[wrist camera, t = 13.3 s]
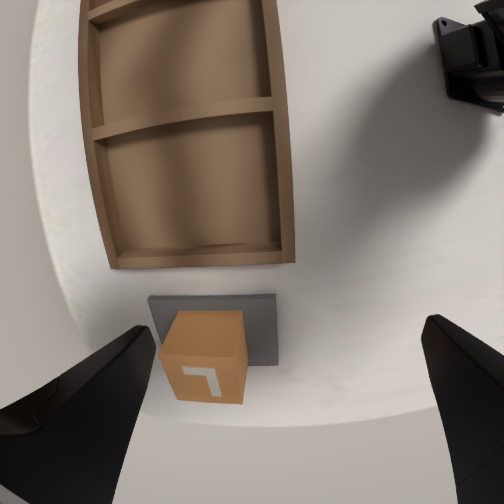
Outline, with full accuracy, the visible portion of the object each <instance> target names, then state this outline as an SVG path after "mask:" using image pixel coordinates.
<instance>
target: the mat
mask: <svg viewBox="0 0 504 504" xmlns="http://www.w3.org/2000/svg"><path fill="white" fill-rule="evenodd" d="M148 303H149V307H150V310H151V313H152V316H153V319H154V322H155V326H156V329H157V332H158V335H159V337H160V340H161V343H162V345H163V343H164V341H165V339H166V336H167V334H168V332H169V330H170V328H171V326H172V324H173V322H174V320H175V318H176V315H177V313H178V311H235V310H242V313H243V321H244V329H245V336H246V344H247V351H248V365H247V366H273V365H278V340H277V317H276V296H275V294H263V295H222V296H150V297H149V298H148Z"/></svg>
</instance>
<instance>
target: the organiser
mask: <svg viewBox="0 0 504 504" xmlns="http://www.w3.org/2000/svg"><path fill="white" fill-rule="evenodd" d="M78 77H79V97H80V111H81V122H82V131H83V139H84V147H85V154H86V161H87V167H88V173H89V179H90V184H91V190H92V195H93V200H94V204H95V209H96V214H97V218H98V222H99V227H100V231H101V235H102V239H103V242H104V246H105V250H106V254H107V257H108V261H109V264H110V268H111V269H130V268H166V267H198V266H227V265H253V264H278V263H295V228H294V201H293V180H292V162H291V146H290V131H289V117H288V105H287V93H286V82H285V71H284V61H283V52H282V43H281V34H280V26H279V18H278V10H277V2H276V0H81V4H80V16H79V36H78Z"/></svg>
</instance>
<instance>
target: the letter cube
mask: <svg viewBox="0 0 504 504" xmlns="http://www.w3.org/2000/svg"><path fill="white" fill-rule="evenodd" d="M159 357H160V360H161V362H162V365H163V367H164V370H165V372H166V375H167V377H168V379H169V382H170V384H171V387H172V389H173V391H174V393H175V396H176V398H177V400H185V401H196V402H210V403H228V404H243V396H244V388H245V380H246V373H247V365H248V351H247V344H246V336H245V329H244V321H243V313H242V310H235V311H178V313H177V315H176V318H175V320H174V322H173V324H172V326H171V328H170V330H169V332H168V334H167V336H166V339H165V341H164V343H163V345H162V347H161V349H160V351H159Z"/></svg>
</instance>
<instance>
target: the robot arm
mask: <svg viewBox="0 0 504 504" xmlns="http://www.w3.org/2000/svg"><path fill="white" fill-rule="evenodd" d="M474 7H475V9H476V10H477V11H478V13H479V14H480V13H481V15H482V16H483V17H484V19H485V20H483V21H480V22H477V23H474V24H472V25H471V24H469V25H464V24H461V23H458V22H455V21H452V20H449V19H446V18H443V17H440V18H438V19H437V20H436V24H437V29H438V34H439V43H440V49H441V55H442V62H443V69H444V72H445V80H446V91H447V95H448V97H449V98H450V99H451V100H455V101H459V102H464V103H468V104H472V105H476V106H480V107H483V108H487V109H490V110H494V111H497V112H500V113H504V108H503V106H504V0H484V1H482V2H480V3H478V4H476V5H474ZM442 22H443V23H444V25H445V26H444V25H443V24H442ZM452 91H454V93H455V96H454V95H453V93H452ZM421 342H422V347H423V351H424V355H425V359H426V364H427V369H428V373H429V378H430V382H431V385H432V388H433V392H434V395H435V398H436V402H437V405H438V408H439V412H440V416H441V419H442V423H443V427H444V431H445V435H446V439H447V444H448V448H449V452H450V457H451V462H452V467H453V473H454V479H455V484H456V486H457V487H456V493H457V500H458V504H504V355H502V354H501V353H499V352H498V351H496V350H495V349H493V348H492V347H490V346H489V345H487V344H486V343H484V342H483V341H481V340H479V339H478V338H476V337H475V336H473V335H472V334H470V333H469V332H467V331H465V330H464V329H462V328H461V327H459V326H457V325H456V324H454V323H453V322H451V321H449V320H448V319H446V318H445V317H443V316H441V315H440V314H435V315H429V316H428V317H427V319H426V322H425V325H424V328H423V332H422V335H421ZM155 352H156V345H155V342H154V339H153V336H152V334H151V331H150V329H149V327H148V326H142V325H137V326H135V327H133V328H131V329H130V330H128V331H127V332H125V333H124V334H122V335H121V336H119V337H118V338H116V339H115V340H113V341H112V342H110V343H109V344H107V345H105V346H104V347H102V348H101V349H99V350H98V351H96V352H95V353H93V354H92V355H90V356H89V357H87V358H86V359H84V360H83V361H81V362H80V363H78V364H76V365H75V366H73V367H72V368H70V369H69V370H67V371H66V372H64V373H63V374H61V375H60V377H57V378H55V379H54V380H52V381H51V382H49V383H47V384H46V385H44V386H43V387H41V388H39V389H37V390H36V391H34V392H32V393H30V394H29V395H27V396H25V397H23V398H21V399H19V400H17V401H16V402H14V403H12V404H10V405H8V406H6V407H4V408H2V409H0V504H112V501H113V498H114V494H115V490H116V486H117V482H118V479H119V475H120V472H121V469H122V465H123V462H124V458H125V455H126V451H127V448H128V445H129V442H130V439H131V435H132V432H133V429H134V426H135V423H136V420H137V417H138V414H139V411H140V408H141V405H142V402H143V399H144V396H145V393H146V390H147V386H148V382H149V378H150V373H151V369H152V365H153V360H154V356H155Z"/></svg>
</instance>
